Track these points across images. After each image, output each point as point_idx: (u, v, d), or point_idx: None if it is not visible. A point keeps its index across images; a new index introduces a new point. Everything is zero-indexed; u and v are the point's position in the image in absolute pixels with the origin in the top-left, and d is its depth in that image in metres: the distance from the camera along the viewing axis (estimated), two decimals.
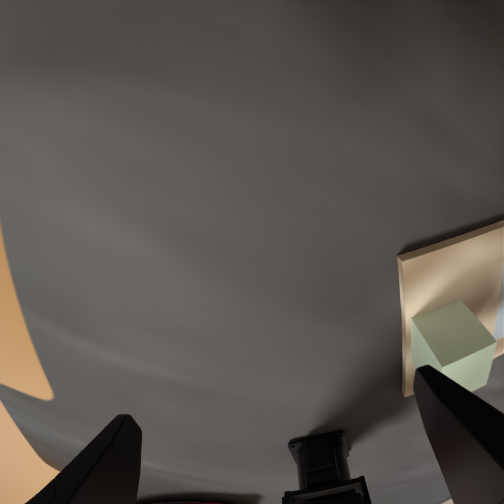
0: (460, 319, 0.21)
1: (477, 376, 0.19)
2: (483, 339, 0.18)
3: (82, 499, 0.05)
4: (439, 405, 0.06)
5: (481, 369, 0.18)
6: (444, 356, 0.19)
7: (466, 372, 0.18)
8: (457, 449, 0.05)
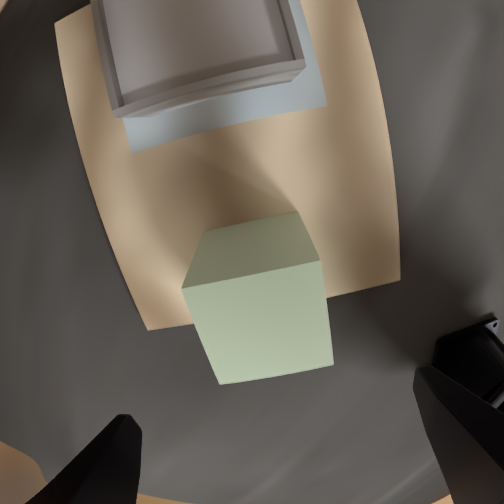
0: None
1: (273, 304, 0.12)
2: None
3: (82, 499, 0.05)
4: (439, 405, 0.06)
5: (255, 300, 0.11)
6: None
7: (249, 336, 0.12)
8: (457, 449, 0.05)
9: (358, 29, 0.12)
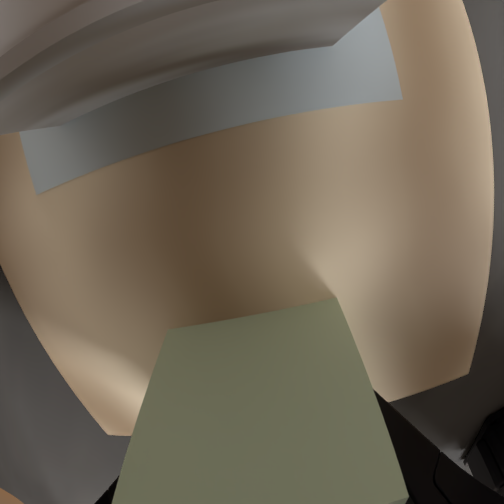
0: None
1: None
2: None
3: None
4: None
5: None
6: None
7: None
8: None
9: None
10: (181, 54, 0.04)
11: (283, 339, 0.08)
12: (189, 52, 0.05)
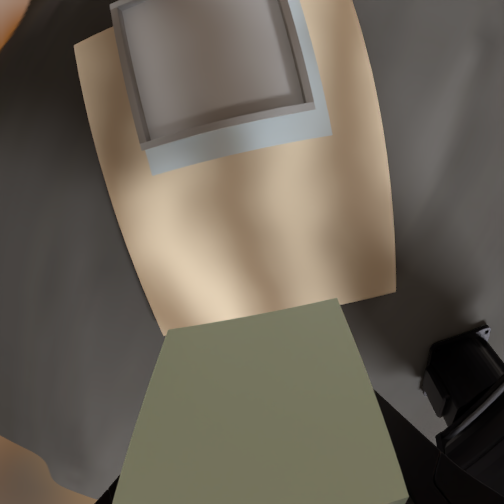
0: None
1: None
2: None
3: None
4: None
5: None
6: None
7: None
8: None
9: (362, 61, 0.14)
10: (239, 124, 0.14)
11: (283, 339, 0.08)
12: None
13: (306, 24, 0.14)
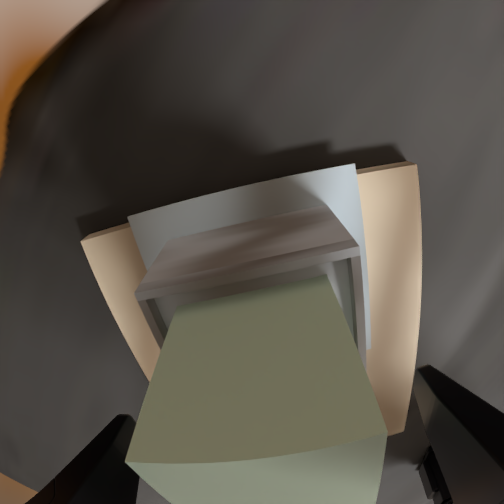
0: None
1: (290, 483, 0.05)
2: None
3: (82, 499, 0.05)
4: (439, 405, 0.06)
5: (259, 482, 0.05)
6: None
7: None
8: (457, 449, 0.05)
9: (415, 276, 0.15)
10: None
11: (279, 308, 0.09)
12: None
13: (364, 241, 0.14)
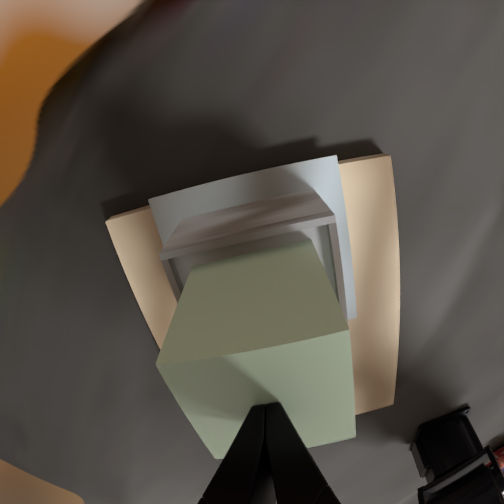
0: None
1: (281, 383, 0.08)
2: None
3: None
4: (267, 448, 0.07)
5: (257, 379, 0.08)
6: None
7: None
8: None
9: (393, 252, 0.17)
10: None
11: (273, 262, 0.12)
12: None
13: (346, 220, 0.17)
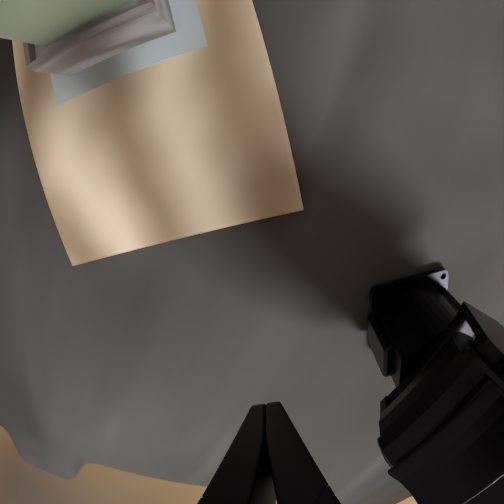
0: None
1: None
2: None
3: None
4: (267, 448, 0.07)
5: None
6: None
7: None
8: None
9: None
10: (112, 43, 0.13)
11: None
12: (114, 43, 0.13)
13: None
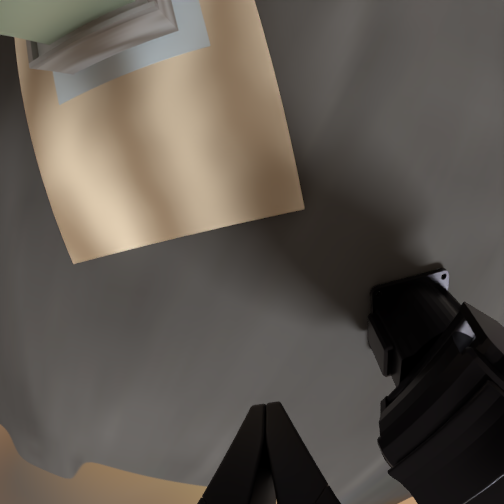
0: None
1: None
2: None
3: None
4: (267, 448, 0.07)
5: None
6: None
7: None
8: None
9: None
10: (114, 42, 0.13)
11: None
12: (117, 41, 0.13)
13: None
